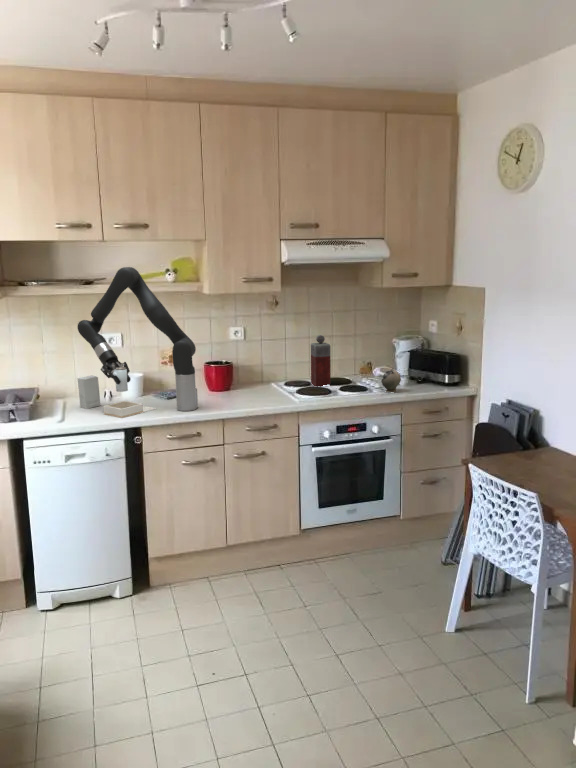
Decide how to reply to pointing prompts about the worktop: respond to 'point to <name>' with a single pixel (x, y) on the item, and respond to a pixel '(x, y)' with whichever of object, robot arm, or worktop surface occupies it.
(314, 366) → the red and grey bottle
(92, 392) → the skincare box
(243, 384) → the worktop surface
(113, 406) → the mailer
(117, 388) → the jar
